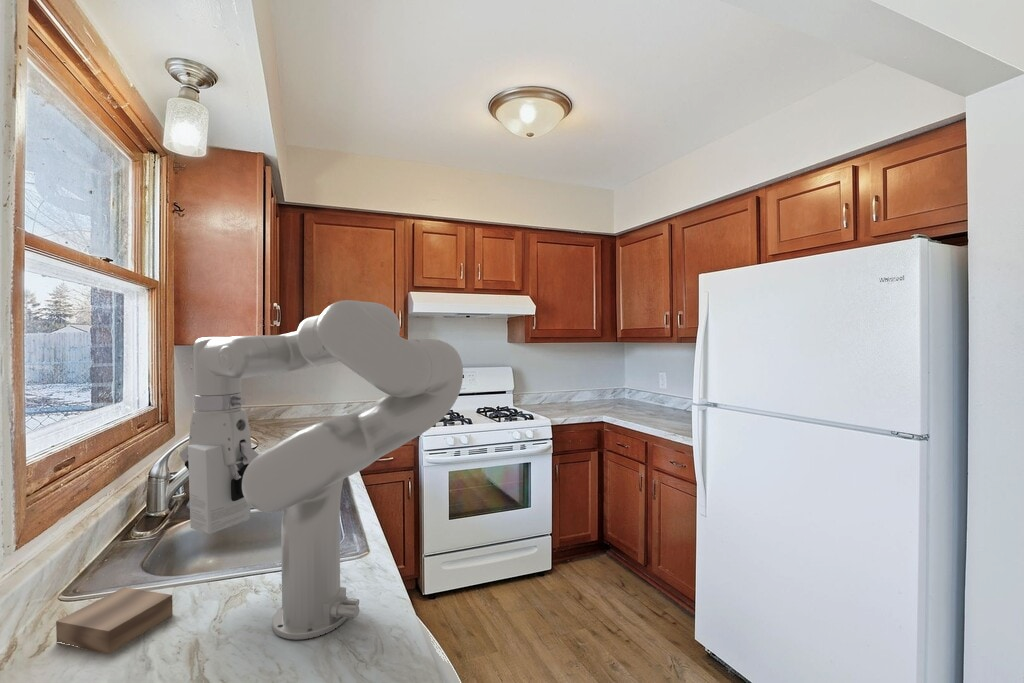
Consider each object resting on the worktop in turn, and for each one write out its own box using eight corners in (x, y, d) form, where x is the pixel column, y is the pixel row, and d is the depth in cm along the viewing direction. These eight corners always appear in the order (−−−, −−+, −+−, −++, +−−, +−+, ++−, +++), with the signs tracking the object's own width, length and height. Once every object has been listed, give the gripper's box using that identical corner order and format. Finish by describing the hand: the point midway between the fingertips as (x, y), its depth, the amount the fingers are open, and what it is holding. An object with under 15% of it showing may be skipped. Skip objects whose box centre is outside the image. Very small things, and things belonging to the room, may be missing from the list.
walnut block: (172, 617, 88) (172, 594, 88) (109, 656, 78) (108, 631, 77) (124, 608, 91) (124, 587, 91) (56, 645, 80) (56, 621, 80)
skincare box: (232, 513, 98) (231, 435, 97) (253, 520, 94) (251, 438, 94) (187, 528, 90) (186, 444, 90) (207, 536, 87) (206, 448, 87)
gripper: (273, 401, 94) (274, 493, 94) (195, 399, 97) (197, 488, 98) (244, 407, 86) (245, 507, 87) (161, 404, 90) (163, 500, 90)
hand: (220, 496), depth 92 cm, fingers closed on skincare box, 7 cm apart
